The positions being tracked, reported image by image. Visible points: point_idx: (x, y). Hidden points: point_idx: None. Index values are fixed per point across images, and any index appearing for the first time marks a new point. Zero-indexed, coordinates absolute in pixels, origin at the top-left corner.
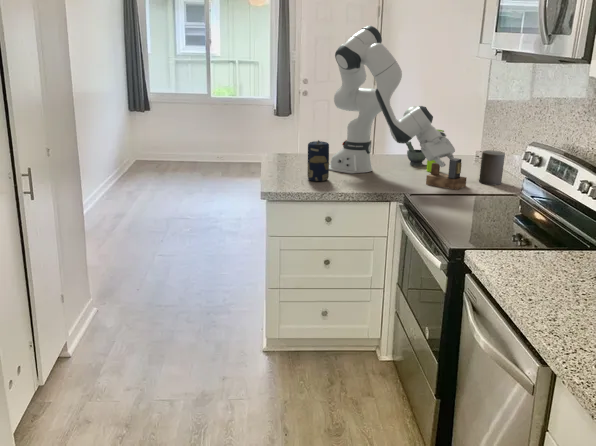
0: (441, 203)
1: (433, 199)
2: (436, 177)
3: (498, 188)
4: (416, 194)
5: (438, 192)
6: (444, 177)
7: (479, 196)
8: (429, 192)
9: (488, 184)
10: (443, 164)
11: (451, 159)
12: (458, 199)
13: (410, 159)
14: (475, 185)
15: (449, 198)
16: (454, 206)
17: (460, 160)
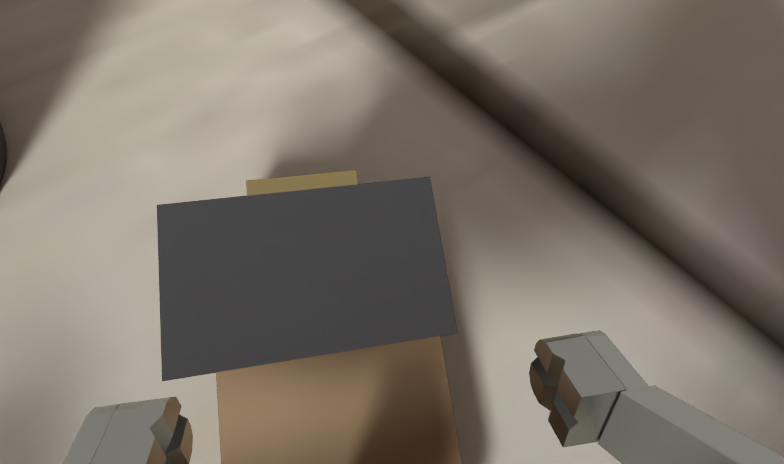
0: (774, 90)
1: (757, 176)
2: (459, 458)
3: (89, 19)
4: (776, 344)
5: (590, 268)
6: (405, 379)
7: (438, 11)
8: (650, 316)
9: (2, 133)
10: (606, 342)
11: (386, 332)
12: (617, 67)
13: None
14: (124, 198)
15: (648, 119)
16: (751, 9)
17: (216, 207)
